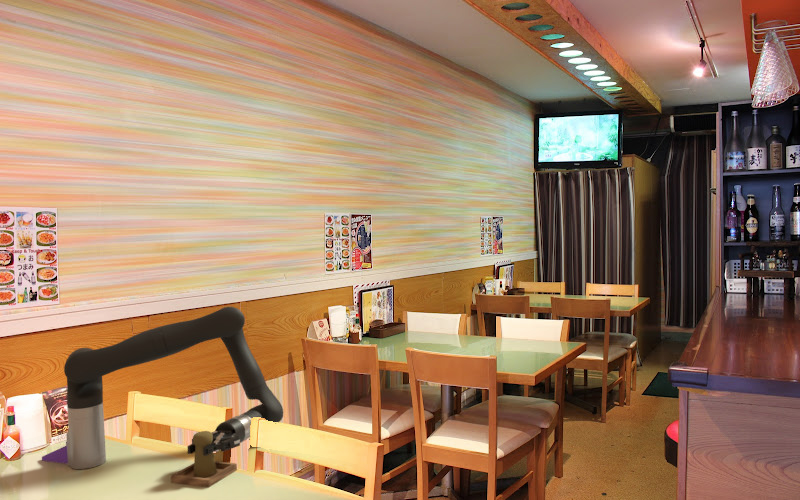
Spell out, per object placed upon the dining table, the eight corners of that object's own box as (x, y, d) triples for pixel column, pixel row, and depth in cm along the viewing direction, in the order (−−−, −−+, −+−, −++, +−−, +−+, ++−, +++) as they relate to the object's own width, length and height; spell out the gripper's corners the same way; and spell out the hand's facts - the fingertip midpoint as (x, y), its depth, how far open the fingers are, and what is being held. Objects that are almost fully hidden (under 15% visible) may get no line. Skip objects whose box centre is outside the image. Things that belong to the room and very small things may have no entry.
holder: (171, 482, 164) (170, 475, 164) (200, 465, 176) (200, 459, 175) (208, 487, 160) (208, 480, 160) (236, 470, 171) (236, 463, 171)
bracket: (91, 457, 188) (90, 434, 188) (72, 465, 181) (71, 442, 181) (61, 453, 192) (60, 431, 192) (42, 461, 186) (40, 438, 185)
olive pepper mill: (210, 477, 164) (207, 436, 164) (189, 477, 165) (186, 436, 165) (220, 468, 170) (218, 428, 170) (200, 468, 171) (197, 428, 171)
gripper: (214, 416, 183) (173, 435, 167) (255, 419, 178) (218, 439, 162) (215, 441, 184) (175, 462, 168) (256, 445, 179) (219, 467, 163)
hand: (196, 451), depth 165 cm, fingers open, 4 cm apart
